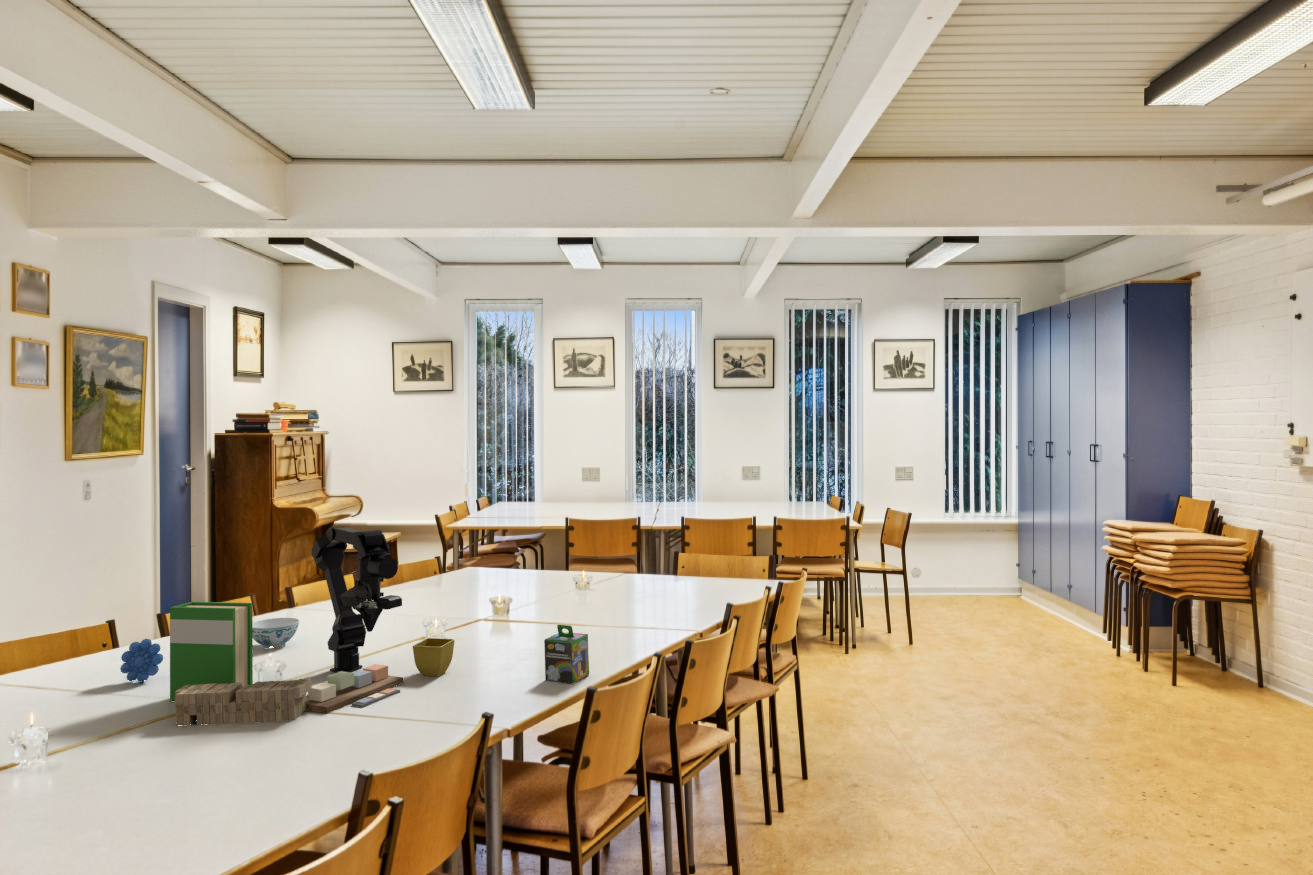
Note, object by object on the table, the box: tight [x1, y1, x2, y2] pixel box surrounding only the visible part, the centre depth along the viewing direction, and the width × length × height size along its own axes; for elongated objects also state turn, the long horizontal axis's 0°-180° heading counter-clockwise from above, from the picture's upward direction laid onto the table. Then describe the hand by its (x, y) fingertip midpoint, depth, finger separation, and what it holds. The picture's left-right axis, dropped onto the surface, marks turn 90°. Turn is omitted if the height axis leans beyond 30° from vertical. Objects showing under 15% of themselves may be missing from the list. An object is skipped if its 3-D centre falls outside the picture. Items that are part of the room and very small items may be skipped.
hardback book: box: [169, 601, 254, 701], centre depth 198 cm, size 18×7×24 cm, turn 81°
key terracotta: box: [362, 663, 389, 681], centre depth 208 cm, size 4×4×3 cm
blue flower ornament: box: [119, 638, 164, 682], centre depth 214 cm, size 12×7×12 cm, turn 89°
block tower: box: [174, 678, 313, 726], centre depth 183 cm, size 8×8×29 cm
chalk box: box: [543, 624, 590, 685], centre depth 213 cm, size 9×9×15 cm
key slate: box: [350, 669, 372, 688], centre depth 203 cm, size 4×4×3 cm
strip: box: [351, 688, 401, 708], centre depth 196 cm, size 4×13×1 cm, turn 156°
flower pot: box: [412, 637, 455, 677], centre depth 218 cm, size 9×9×9 cm
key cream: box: [307, 682, 336, 702], centre depth 192 cm, size 4×4×3 cm
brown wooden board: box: [305, 674, 404, 714], centre depth 200 cm, size 12×26×2 cm, turn 156°
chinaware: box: [252, 617, 300, 649], centre depth 251 cm, size 15×15×8 cm
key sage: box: [326, 671, 354, 690], centre depth 197 cm, size 4×4×3 cm
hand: (369, 631), depth 214 cm, fingers closed
